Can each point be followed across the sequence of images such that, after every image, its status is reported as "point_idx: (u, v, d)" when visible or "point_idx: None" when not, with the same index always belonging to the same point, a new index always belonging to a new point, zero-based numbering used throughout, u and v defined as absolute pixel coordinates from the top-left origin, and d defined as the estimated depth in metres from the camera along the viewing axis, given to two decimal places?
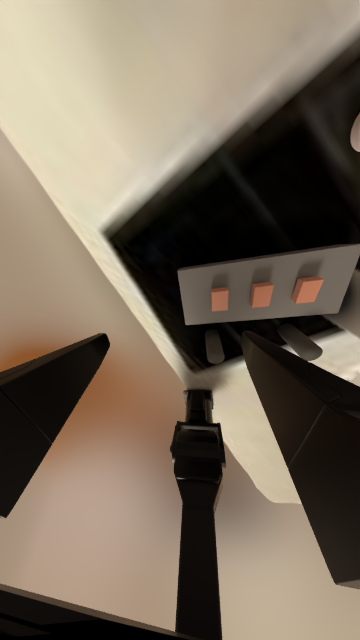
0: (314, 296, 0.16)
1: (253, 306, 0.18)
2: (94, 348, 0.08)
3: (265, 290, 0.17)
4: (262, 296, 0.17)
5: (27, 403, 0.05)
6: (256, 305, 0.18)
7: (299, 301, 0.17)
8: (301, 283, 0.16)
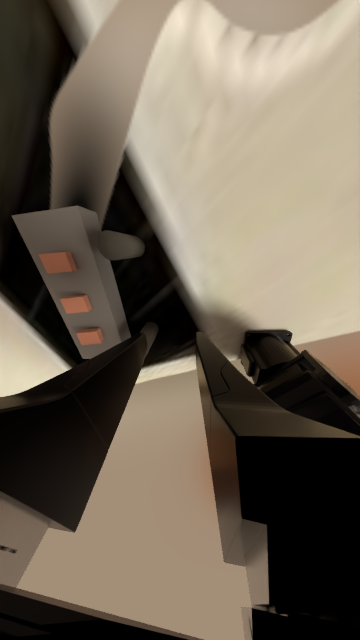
0: (58, 255, 0.15)
1: (86, 310, 0.18)
2: (138, 348, 0.08)
3: (66, 304, 0.18)
4: (73, 305, 0.18)
5: (91, 407, 0.05)
6: (85, 308, 0.18)
7: (68, 268, 0.16)
8: (51, 272, 0.16)
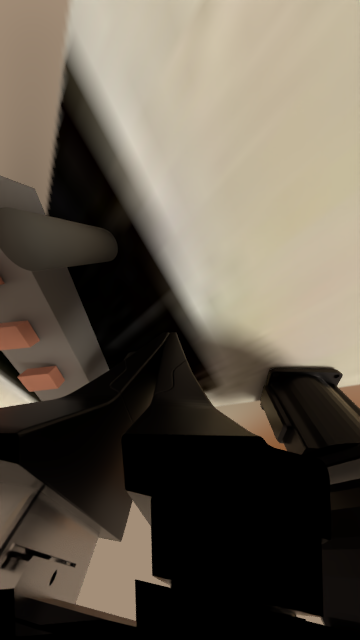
0: None
1: (27, 345, 0.12)
2: None
3: None
4: (4, 339, 0.11)
5: (134, 410, 0.05)
6: (23, 342, 0.11)
7: None
8: None
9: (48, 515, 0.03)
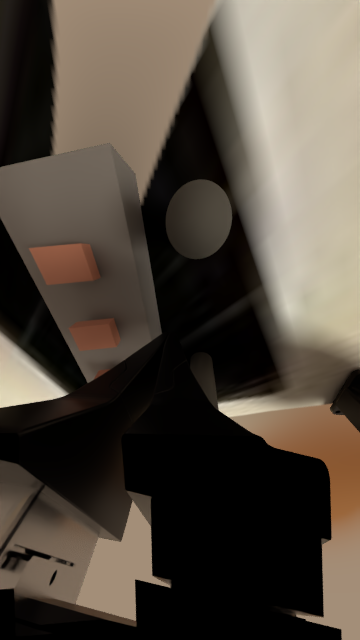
0: (68, 250, 0.08)
1: (113, 345, 0.11)
2: None
3: (80, 336, 0.10)
4: (92, 338, 0.10)
5: (134, 410, 0.05)
6: (111, 341, 0.11)
7: (87, 274, 0.08)
8: None
9: (48, 515, 0.03)
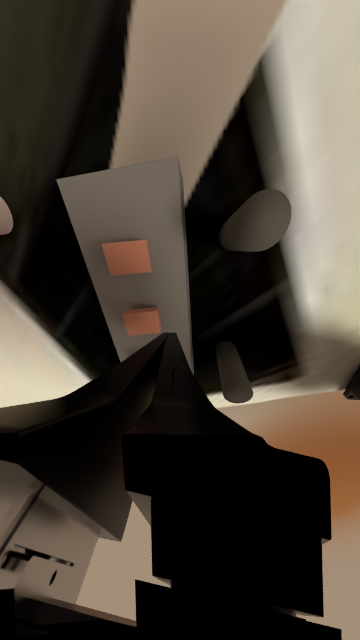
0: (133, 245, 0.09)
1: (158, 331, 0.12)
2: None
3: (131, 322, 0.12)
4: (140, 324, 0.12)
5: (134, 410, 0.05)
6: (156, 327, 0.12)
7: (145, 266, 0.10)
8: (116, 274, 0.10)
9: (48, 515, 0.03)
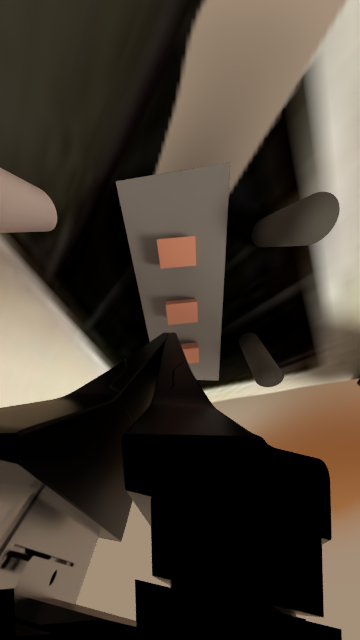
0: (184, 241, 0.10)
1: (196, 320, 0.13)
2: None
3: (172, 312, 0.13)
4: (181, 313, 0.13)
5: (134, 410, 0.05)
6: (194, 317, 0.13)
7: (192, 260, 0.11)
8: (164, 267, 0.11)
9: (48, 515, 0.03)
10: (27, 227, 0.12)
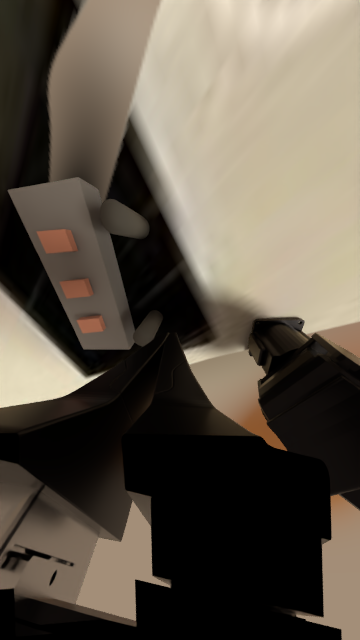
0: (57, 233, 0.14)
1: (88, 295, 0.17)
2: None
3: (66, 288, 0.17)
4: (74, 289, 0.17)
5: (134, 410, 0.05)
6: (86, 292, 0.17)
7: (69, 247, 0.15)
8: (50, 252, 0.15)
9: (48, 515, 0.03)
10: None
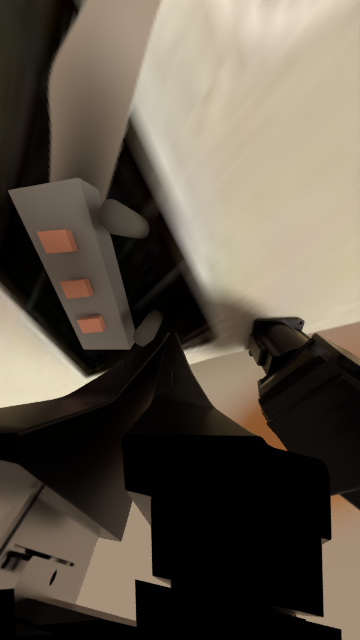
0: (58, 233, 0.14)
1: (88, 295, 0.17)
2: None
3: (67, 288, 0.17)
4: (74, 289, 0.17)
5: (134, 410, 0.05)
6: (86, 292, 0.17)
7: (69, 247, 0.15)
8: (51, 253, 0.15)
9: (48, 515, 0.03)
10: None
